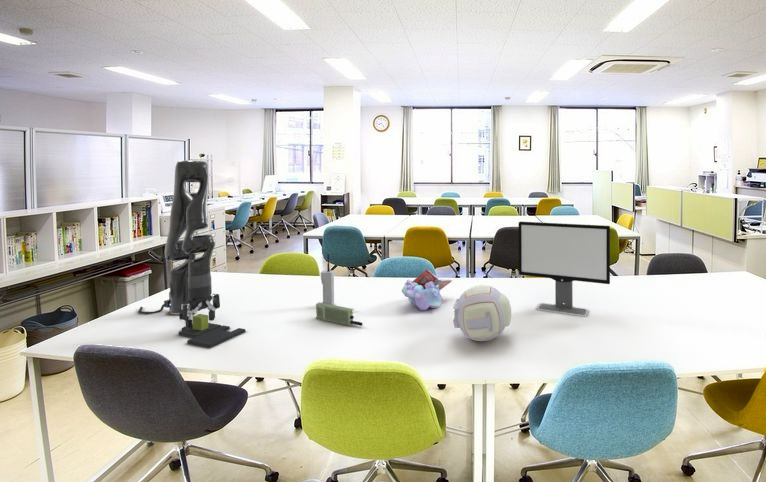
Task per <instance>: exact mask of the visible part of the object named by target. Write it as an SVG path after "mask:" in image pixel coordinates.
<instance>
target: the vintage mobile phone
mask: <svg viewBox="0 0 766 482" xmlns="http://www.w3.org/2000/svg"><path fill="white" fill-rule="evenodd" d="M326 264H327V266H326V267H327V270H322V271H321V272H320V279H321V285H322V301H321V303H325V304H330V305H335V270H331V269H330V254H329V253H328V254H327V263H326Z"/></svg>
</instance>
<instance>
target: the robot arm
mask: <svg viewBox="0 0 766 482" xmlns="http://www.w3.org/2000/svg"><path fill="white" fill-rule="evenodd" d="M186 183H199V185H198V190H197V192H196V194H195V195H194V197H193V196H192V195H191V194H190V192H189V191H188V189H187V188H186V186H185V184H186ZM209 185H210V168H209V164H208V163H207V161H204V160H185V159H184V160H183V159H182V160H178V161H177V162H176V165H175V168H174V185H173V196H172V203H171V208H170V215H169V227H168V234H167V238H166V242H165V246H164V258H165V260H166V261H167V262H179V261H184V262H182V263H181V264H179V265H177V266H174V267H173V268H171V269H170V270H169V291H168V299H166V300H164V301H163V304H162V305H161V306H160V309H158V310H154V311H142V310H143V309H144V307H143V306H139V309H138V314H143V315H150V314H151V315H152V314H158V313H160V312H162V311H163V310H164V308H168V309H169V314H170V315H171V316H172V315H173V316H178V315H179V317H178V319H179V320H180V321H185V322H184V323H185V327H186V328H187V329H192V328H193V325H192V324H193V319H192V317H193V316H195V315H197V312H200V311H201V310H205V309H207V310H208V321H209V322H210V321H211V322H212V321H215V318H216V310H217V309H219V308H220V307H221V301H220V294H219V293H212V291H213V290H212V288H213V287H212V273H211V260H212V255H213V252H214V249H215V245H216V239H215V236H213V235H212V234H198V235H194V234H195V233H197V232H200V231H204V230H206V229H208V227H209V215H208V197H209ZM183 234H185V235H184V237H183V239H180V238H181V237H182V235H183ZM200 253H202V255H201V256H199V257H197V256H196V254H200ZM211 302H212V303H211Z"/></svg>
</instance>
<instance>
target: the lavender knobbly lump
mask: <svg viewBox="0 0 766 482" xmlns="http://www.w3.org/2000/svg"><path fill="white" fill-rule="evenodd" d="M453 281H454V280H451V279H439V277H438V276H436V275H435V274H434V273H433V272H432V271H430V270H429V269H426V270H424V271H423V272H422V273H421V274H420V275H418V276H417V277H416V278H414V279H413V280H411V279H407V280H406V282H405V283H404V286H403V287H402V289H401V293H402V294H403V295H404V297H406V298H408V300H409V302H410V303H412V304H413V305H414V306H415V307H417V308H418V309H419V310H421V311H427V310H428V309H429V308H432V309H435V308H438V307H439V306H440V305H441V304H442V301H443V299H442V294H441V290H443V289H444V288H445V287H447V286H448V285H450V283H452V282H453Z"/></svg>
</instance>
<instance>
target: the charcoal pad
mask: <svg viewBox="0 0 766 482" xmlns="http://www.w3.org/2000/svg"><path fill="white" fill-rule="evenodd" d="M230 329H231V326H229V325H224V324H223V325H222V326H221V327H218V328H216V329H214V330H211V331H209V332H206V333H204V334H202V335H199V336H197V337H194V338H192V337H191V338H189V339H187V340H186V341H187V344H188V345H193V346H198V347H203V348H209V349H212V348H214V347H216V346H218V345H220V344H222V343H225V342H227V341H229V340H231V339H233V338H235V337H238V336H240V335H242V334H244V333H246V328H241V327H238V328H236V329H234V330H231V331H229V330H230Z"/></svg>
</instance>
